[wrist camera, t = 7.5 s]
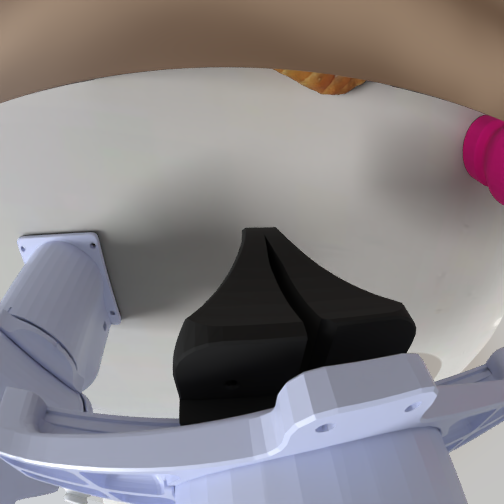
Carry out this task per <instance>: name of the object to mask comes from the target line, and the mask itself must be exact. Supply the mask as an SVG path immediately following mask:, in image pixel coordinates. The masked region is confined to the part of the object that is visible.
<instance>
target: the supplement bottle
mask: <svg viewBox="0 0 504 504" xmlns="http://www.w3.org/2000/svg"><path fill="white" fill-rule="evenodd" d="M64 489H65V490H66V494H65V495H64V500H65V501H67V502H69V503H72V504H87V503H88V502H87V497H88V496H91V495H88V494H84V493H80V492H77V491H73V490H69V489H66V488H64Z"/></svg>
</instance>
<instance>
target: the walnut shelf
mask: <svg viewBox="0 0 504 504" xmlns="http://www.w3.org/2000/svg"><path fill="white" fill-rule="evenodd" d="M203 67H248V68H270V69H285V70H297V71H307V72H316V73H324V74H331V75H338V76H345V77H351V78H357V79H362V80H367V81H373V82H378V83H382V84H387V85H391V86H393V87H397V88H401V89H406V90H410V91H414V92H418V93H421V94H425V95H429V96H432V97H436V98H439V99H443V100H446V101H449V102H453V103H456V104H459V105H462V106H465V107H468V108H471V109H474V110H476V111H479V112H482V113H484V114H487V115H489V116H492V117H495V118H497V119H500V120H502V121H504V0H0V103H2V102H5V101H8V100H11V99H15V98H18V97H21V96H25V95H28V94H32V93H35V92H39V91H43V90H47V89H51V88H55V87H60V86H64V85H69V84H74V83H79V82H84V81H89V80H94V79H96V78H102V77H108V76H114V75H121V74H128V73H136V72H145V71H155V70H166V69H181V68H203Z"/></svg>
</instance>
